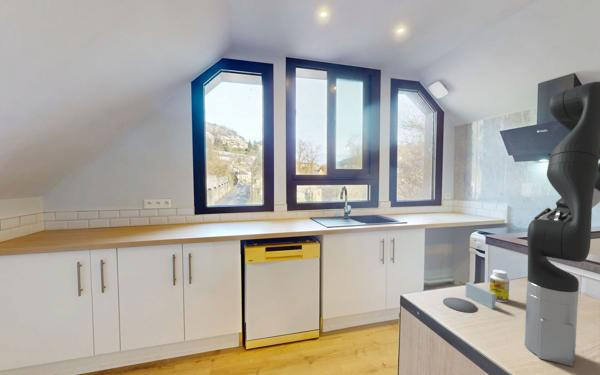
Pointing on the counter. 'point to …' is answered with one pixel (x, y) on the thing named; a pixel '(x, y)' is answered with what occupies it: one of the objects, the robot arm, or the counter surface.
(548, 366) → the counter surface
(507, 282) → the supplement bottle
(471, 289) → the low wall
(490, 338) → the counter surface
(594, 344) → the counter surface
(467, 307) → the resting mat
